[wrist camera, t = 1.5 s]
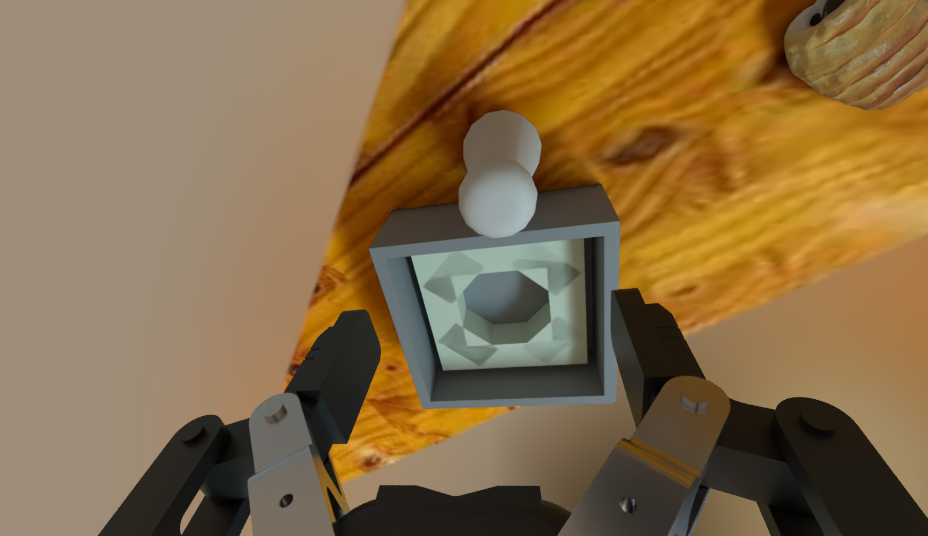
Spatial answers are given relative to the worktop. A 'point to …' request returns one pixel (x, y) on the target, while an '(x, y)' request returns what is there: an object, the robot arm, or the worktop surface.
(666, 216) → the worktop surface
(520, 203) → the salt shaker
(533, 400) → the bore box
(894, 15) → the ridged seashell
